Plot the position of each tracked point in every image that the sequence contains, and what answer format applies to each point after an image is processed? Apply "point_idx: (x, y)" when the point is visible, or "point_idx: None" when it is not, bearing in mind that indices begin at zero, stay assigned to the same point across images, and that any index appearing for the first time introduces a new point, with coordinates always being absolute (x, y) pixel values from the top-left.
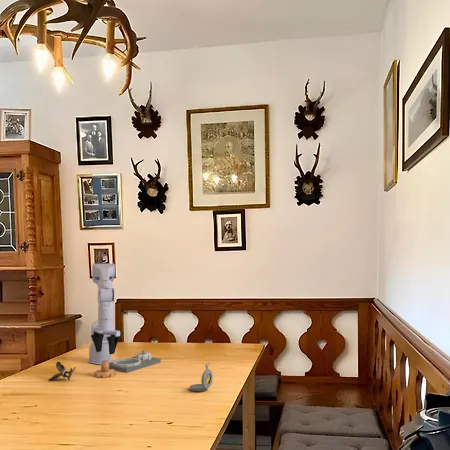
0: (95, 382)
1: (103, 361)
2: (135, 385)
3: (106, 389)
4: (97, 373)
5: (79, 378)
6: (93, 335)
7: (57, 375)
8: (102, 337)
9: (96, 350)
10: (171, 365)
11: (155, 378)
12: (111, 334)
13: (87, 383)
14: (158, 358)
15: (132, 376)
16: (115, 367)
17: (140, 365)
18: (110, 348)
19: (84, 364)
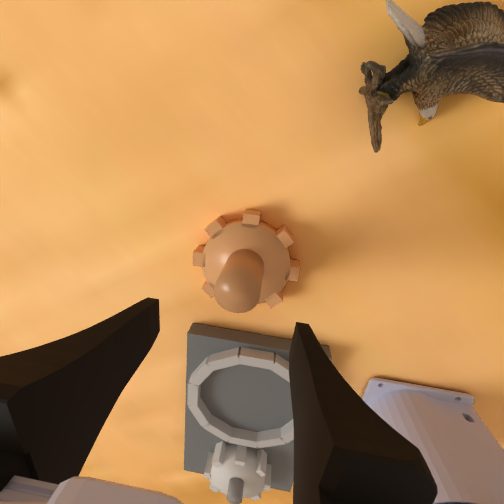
0: (198, 136)
1: (243, 286)
2: (14, 183)
3: (55, 56)
4: (253, 221)
5: (331, 159)
6: (359, 467)
7: (452, 20)
8: (296, 491)
9: (305, 329)
10: (128, 434)
11: (41, 296)
12: (5, 494)
13: (222, 98)
14: (193, 470)
15: (131, 287)
16: (258, 343)
17: (186, 393)
18: (110, 318)
19: (469, 368)
